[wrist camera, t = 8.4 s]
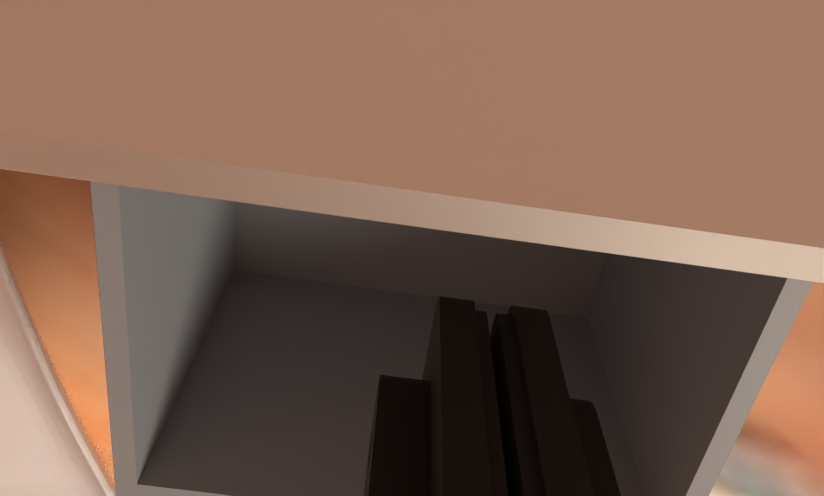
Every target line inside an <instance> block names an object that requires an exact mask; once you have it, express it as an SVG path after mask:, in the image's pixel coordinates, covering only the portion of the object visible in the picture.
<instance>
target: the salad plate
mask: <svg viewBox="0 0 824 496" xmlns="http://www.w3.org/2000/svg"><path fill="white" fill-rule="evenodd" d="M0 496H116V490H115V486H114V484H113V483H112V481H111V479H110V477H109V475H108V474H107V472H106V470H105V468H104V466H103V464H102V463H101V461H100V459H99V457H98V455H97V453H96V451H95V450H94V448H93V446H92V444H91V442H90V440H89V438H88V436H87V434H86V433H85V431H84V429H83V427H82V425H81V423H80V421H79V419H78V417H77V415H76V413H75V410H74V408H73V406H72V404H71V402H70V400H69V398H68V396H67V394H66V392H65V390H64V388H63V385H62V383H61V381H60V379H59V377H58V375H57V373H56V371H55V369H54V366H53V364H52V362H51V360H50V358H49V356H48V354H47V351H46V349H45V347H44V345H43V343H42V340H41V338H40V336H39V334H38V331H37V329H36V327H35V324H34V322H33V320H32V318H31V315H30V313H29V311H28V308H27V306H26V303H25V301H24V298H23V296H22V294H21V291H20V289H19V286H18V284H17V281H16V279H15V276H14V274H13V271H12V269H11V266H10V264H9V261H8V258H7V256H6V253H5V251H4V248H3V245H2V243H1V240H0Z"/></svg>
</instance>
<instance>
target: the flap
mask: <svg viewBox="0 0 824 496" xmlns="http://www.w3.org/2000/svg"><path fill="white" fill-rule="evenodd" d="M0 169H4V170H11V171H18V172H26V173H33V174H40V175H47V176H55V177H62V178H69V179H76V180H83V181H91V182H98V183H105V184H112V185H120V186H127V187H134V188H141V189H148V190H156V191H163V192H170V193H177V194H185V195H192V196H199V197H206V198H213V199H221V200H228V201H235V202H242V203H250V204H257V205H264V206H271V207H278V208H286V209H293V210H300V211H307V212H315V213H322V214H329V215H336V216H343V217H351V218H358V219H365V220H372V221H379V222H387V223H394V224H401V225H408V226H416V227H423V228H430V229H437V230H444V231H452V232H459V233H466V234H473V235H481V236H488V237H495V238H502V239H509V240H517V241H524V242H531V243H538V244H546V245H553V246H560V247H567V248H574V249H582V250H589V251H596V252H603V253H611V254H618V255H625V256H632V257H639V258H647V259H654V260H661V261H668V262H675V263H683V264H690V265H697V266H704V267H712V268H719V269H726V270H733V271H740V272H748V273H755V274H762V275H769V276H777V277H784V278H791V279H798V280H805V281H813V282H820V283H824V0H0Z"/></svg>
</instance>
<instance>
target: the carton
mask: <svg viewBox="0 0 824 496" xmlns="http://www.w3.org/2000/svg"><path fill="white" fill-rule="evenodd" d="M90 186H91V198H92V210H93V222H94V234H95V247H96V259H97V271H98V283H99V295H100V308H101V320H102V332H103V344H104V356H105V369H106V381H107V393H108V405H109V417H110V429H111V442H112V454H113V466H114V478H115V490H116V496H364V488H365V479H366V469H367V460H368V452H369V444H370V436H371V428H372V421H373V414H374V407H375V400H376V394H377V387H378V381H379V376H380V375H387V376H395V377H403V378H411V379H419V380H422V377H423V372H424V366H425V361H426V355H427V350H428V345H429V339H430V334H431V329H432V323H433V318H434V312H435V307H436V302H437V299H438V297H439V296H442V297H450V298H458V299H465V300H473V301H474V303H475V310H477V311H485V312H487V317H488V325H489V334H490V333H491V329H492V324H493V320H494V317H495V315H496V313H500V314H507V312H508V310H509V308H510V307H511V306H519V307H527V308H534V309H542V310H546V311H548V314H549V317H550V321H551V325H552V329H553V333H554V337H555V341H556V345H557V349H558V353H559V357H560V361H561V365H562V369H563V373H564V377H565V381H566V385H567V389H568V393H569V397H570V398H571V399H579V400H587V401H590V402H591V403H593V404H594V407H595V409H596V411H597V415H598V418H599V422H600V425H601V428H602V432H603V435H604V439H605V442H606V446H607V449H608V453H609V456H610V459H611V463H612V466H613V470H614V473H615V477H616V480H617V484H618V487H619V490H620V494H621V496H709V494H710V492H711V490H712V488H713V486H714V484H715V482H716V480H717V478H718V476H719V474H720V472H721V469H722V467H723V465H724V463H725V461H726V459H727V457H728V455H729V453H730V451H731V449H732V447H733V445H734V443H735V441H736V439H737V437H738V435H739V433H740V431H741V429H742V427H743V425H744V422H745V420H746V418H747V416H748V414H749V412H750V410H751V408H752V406H753V404H754V402H755V400H756V398H757V396H758V394H759V392H760V390H761V388H762V386H763V384H764V382H765V380H766V378H767V376H768V373H769V371H770V369H771V367H772V365H773V363H774V361H775V359H776V357H777V355H778V353H779V351H780V349H781V347H782V345H783V343H784V341H785V339H786V337H787V335H788V333H789V331H790V329H791V326H792V324H793V322H794V320H795V318H796V316H797V314H798V312H799V310H800V308H801V306H802V304H803V302H804V300H805V298H806V296H807V294H808V292H809V290H810V288H811V286H812V284H813V281H805V280H798V279H791V278H784V277H777V276H769V275H762V274H755V273H748V272H740V271H733V270H726V269H719V268H712V267H704V266H697V265H690V264H683V263H675V262H668V261H661V260H654V259H647V258H639V257H632V256H625V255H618V254H611V253H603V252H596V251H589V250H582V249H574V248H567V247H560V246H553V245H546V244H538V243H531V242H524V241H517V240H509V239H502V238H495V237H488V236H481V235H473V234H466V233H459V232H452V231H444V230H437V229H430V228H423V227H416V226H408V225H401V224H394V223H387V222H379V221H372V220H365V219H358V218H351V217H343V216H336V215H329V214H322V213H315V212H307V211H300V210H293V209H286V208H278V207H271V206H264V205H257V204H250V203H242V202H235V201H228V200H221V199H213V198H206V197H199V196H192V195H185V194H177V193H170V192H163V191H156V190H148V189H141V188H134V187H127V186H120V185H112V184H105V183H98V182H91V181H90Z"/></svg>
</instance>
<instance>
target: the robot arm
mask: <svg viewBox="0 0 824 496" xmlns="http://www.w3.org/2000/svg"><path fill="white" fill-rule="evenodd" d="M364 496H621V494H620V490H619V487H618V484H617V480H616V477H615V473H614V470H613V466H612V463H611V459H610V456H609V453H608V449H607V446H606V442H605V439H604V435H603V432H602V428H601V425H600V422H599V418H598V415H597V411H596V409H595V407H594V404H593V403H591V402H590V401H587V400H579V399H571V398H570V397H569V393H568V389H567V385H566V381H565V377H564V373H563V369H562V365H561V361H560V357H559V353H558V349H557V345H556V341H555V337H554V333H553V329H552V325H551V321H550V317H549V314H548V311H546V310H542V309H534V308H527V307H519V306H511V307H510V308H509V310H508V312H507V314H500V313H496V315H495V317H494V320H493V324H492V329H491V333H490V334H489V325H488V317H487V312H485V311H477V310H475V303H474V301H473V300H465V299H458V298H450V297H442V296H439V297H438V299H437V302H436V307H435V312H434V318H433V323H432V329H431V334H430V339H429V345H428V350H427V355H426V361H425V366H424V372H423V377H422V380H419V379H411V378H403V377H395V376H387V375H380V376H379V381H378V387H377V394H376V400H375V407H374V414H373V421H372V428H371V436H370V444H369V452H368V460H367V469H366V479H365V488H364Z"/></svg>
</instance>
